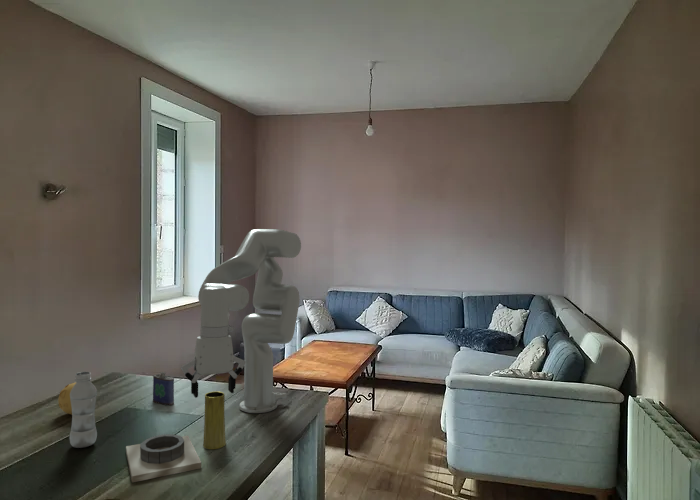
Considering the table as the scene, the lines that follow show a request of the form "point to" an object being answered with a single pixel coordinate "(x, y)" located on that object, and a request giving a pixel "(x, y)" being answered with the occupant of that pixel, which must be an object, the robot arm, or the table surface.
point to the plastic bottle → (83, 411)
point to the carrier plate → (161, 457)
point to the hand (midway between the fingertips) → (213, 393)
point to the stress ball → (66, 399)
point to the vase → (214, 421)
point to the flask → (163, 389)
